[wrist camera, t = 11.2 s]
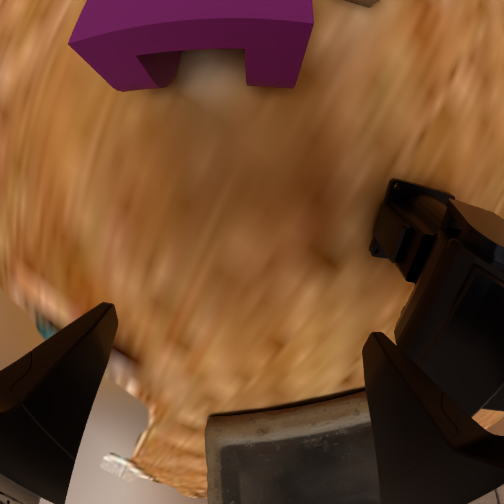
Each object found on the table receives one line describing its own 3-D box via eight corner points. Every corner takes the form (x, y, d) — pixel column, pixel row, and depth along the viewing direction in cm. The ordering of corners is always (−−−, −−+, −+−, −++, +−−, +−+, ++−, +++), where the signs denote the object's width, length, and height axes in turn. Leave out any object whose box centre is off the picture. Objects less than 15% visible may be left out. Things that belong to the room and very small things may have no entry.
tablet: (435, 351, 30) (495, 527, 8) (427, 399, 36) (463, 531, 14) (198, 413, 37) (178, 574, 15) (239, 446, 43) (232, 572, 21)
